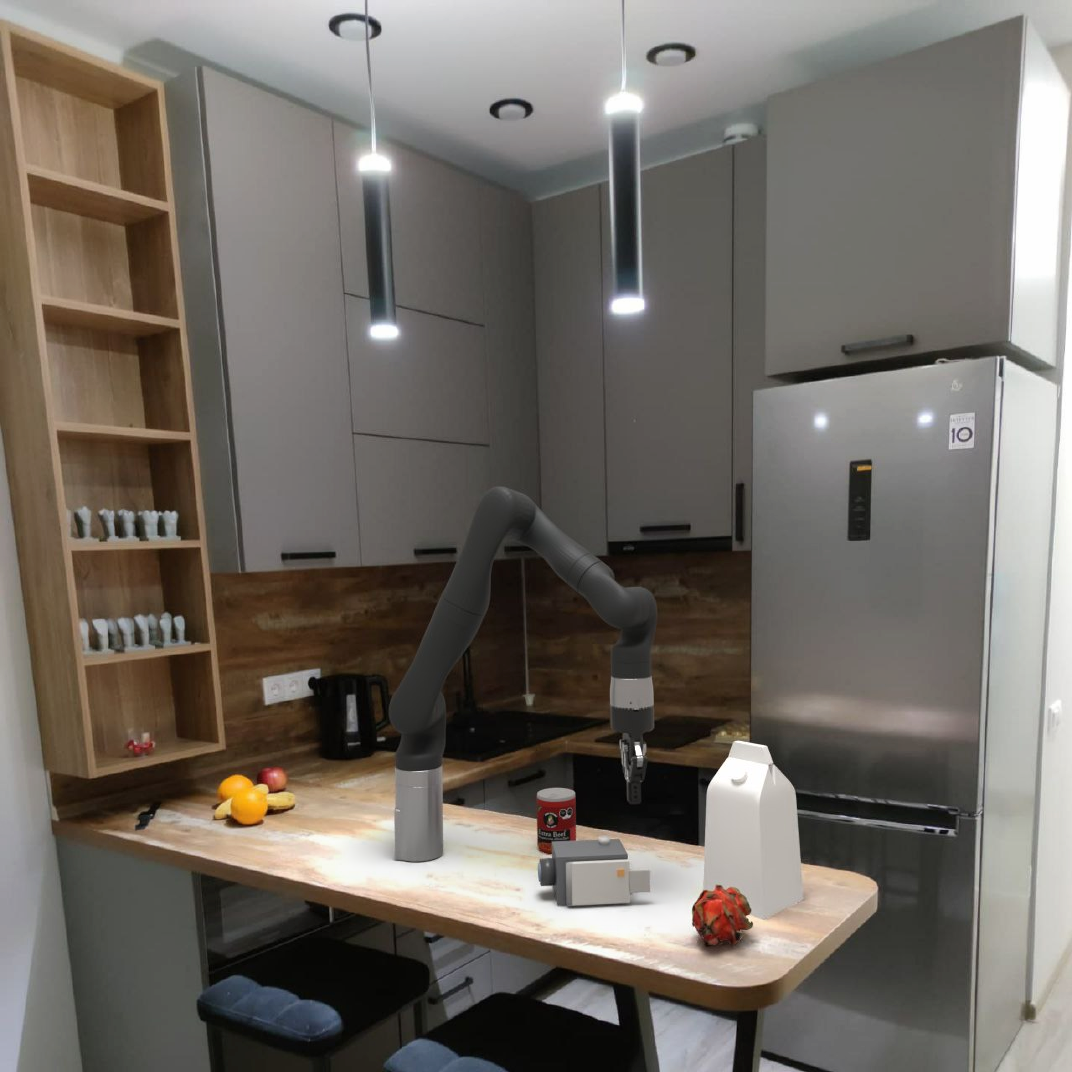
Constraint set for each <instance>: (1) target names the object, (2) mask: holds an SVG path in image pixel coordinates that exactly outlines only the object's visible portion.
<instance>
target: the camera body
mask: <svg viewBox="0 0 1072 1072" xmlns="http://www.w3.org/2000/svg"><path fill="white" fill-rule="evenodd" d="M624 859H629V854H628V852H627V850H626V848H625V847H624V845H623V843H622V842H621V839H620V838H611V837H610V836H609V835H599V836H598V839H581V840H580V839H579V840H577V839H576V841H554V842H552V855H551V857H546V858H542V857H541V858H539V860H538V863H537V877H538V878H537V879H538V883H539V884H540V887H551V888H552V891H553V895H554V899H555V902H557V903H556V906H557V905H558V907H560V906H559V905H565V906H567V905H566V862H579V861H602V860H624Z"/></svg>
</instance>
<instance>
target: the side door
mask: <svg viewBox="0 0 1072 1072" xmlns="http://www.w3.org/2000/svg"><path fill="white" fill-rule="evenodd" d="M630 865H631V863H630V859H629V858H628V859H624V860H602V861H579V862H566V905H565V906H567V907H572V906H573V907H574V906H591V905H593V906H594V905H611V904H630V903H631V894H638V893H650V892H651V870H650V868H649V867H643V868H642V867H641V868H640V867H639V868H631V867H630Z"/></svg>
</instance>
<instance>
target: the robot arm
mask: <svg viewBox="0 0 1072 1072" xmlns="http://www.w3.org/2000/svg"><path fill="white" fill-rule="evenodd" d="M505 539H509V540H515V541H517V542H518V543H521V544H522V545H524V546H527V547H528V548H530V549H532V551H534V552H536V553H537V554H538V555H539V556H540V557H542V558H543V559H544V560H545V561H546V563H547V564H548V566H550V567H551V569H552V570H553V572H554V573H555V574H556V575H557V576H558V577H559V578H560V579H561V580H562V581H563V582H565V583H566V584H567V585H568V586H569V587H571V588H572V589H573V590H574V591H576V592H577V593H578V594H580V595H581V596H582V597H584V598H585V600H586V601H587V602H588V604H589V605H590V606H591V607H592V609H593V610H594V611H595V613H596V614H597V615H598V617H600V618H601V619H602V621H604V622H605V623H606V624H608V625H609V626H611V627H614V628H616V629H620V630H621V631H620V637H619V640H617V642H616V643H614V644H613V645H612V647H611V650H610V686H609V706H610V709H609V712H610V729H611V730H612V731H613V732H616V733H621V734H622V739H619V744H618V746H619V751H620V758H621V765H622V772H623V774H624V778H625V781H626V801H627V802H628V803H629V804H630V805H641V803H642V785H641V784H642V782H644V781H645V777H646V771H647V766H648V761H649V759H648V755H645V754H646V753H647V742H646V741H644V737H643V734H644V733H645V734H646V733H649V732H651V731H653V730H654V729H655V705H654V703H655V700H654V697H655V696H654V684H653V679H652V678H653V677H652V652H651V651H652V647H653V644H654V639H655V633H656V627H657V622H658V607H657V606H658V605H657V601H656V599H655V597H654V595H653V594H652V592H651V591H650V590H648V589H647V588H646V587H642V586H631V587H624V586H623V585H621V584H619V583H618V582H617V581H616V580H615V573H614V571H613V569H611V568H610V566H609V565H607V564H606V563H605V562H603V561H602V560H601V559H600V558H598V557H597V556H595V554H593V553H591V552H590V551H589V550H587V549H586V548H585V547H583V546H582V545H581V544H579V543H578V542H576V541H575V540H574V539H572V538H571V537H570V536H569V535H567V534H566V533H564V532H563V531H562V530H561V529H560V528H559V527H557V525H555V523H554V522H552V520H550V518H548V517H547V515H546V514H545V513H544V511H542V509H540V508H539V507H538V505H537V504H536V503H535V502H534V501H533V500H532V499H531V498H530V496H528V495H527V494H525V493H522V492H520V491H517V490H514V489H511V488H508V487H506V486H499V485H497V486H494V487H492V488H490V489H488V490H487V491H486V492H485V493H484V494H483V496H482V497H481V498H480V501H479V502H478V504H477V507H476V509H475V512H474V514H473V517H472V520H471V523H470V527H469V530H468V532H467V535H466V537H465V541H464V544H463V545H462V546H463V547H462V549H461V552H460V554H459V556H458V559H457V561H456V563H455V566H454V568H453V570H452V572H451V575H450V577H449V579H448V582H447V584H446V586H445V587H444V590H443V591H442V593H441V596H440V597H439V600H438V601H437V604H436V606H435V609H434V611H433V614H432V617H431V619H430V621H429V624H428V625H427V628H426V630H425V632H424V635H423V637H422V640H421V642H420V644H419V646H418V649H417V652H416V653H415V657H414V658H413V661H412V663H411V664H410V666H409V668H408V670H407V671H406V673H405V675H404V677H403V678H402V680H401V682H400V684H399V685H398V687H397V689H396V690H395V692H394V693H393V695H392V696H391V699H390V701H389V702H390V703H389V705H388V718H389V722H390V724H391V725H392V727H393V728H394V730H395V731H397V732H398V733H399V734H401V738H400V742H399V745H398V747H397V749H396V751H395V754H394V792H395V795H394V796H395V797H394V798H395V799H394V800H395V802H394V803H395V805H394V806H395V807H394V811H393V814H394V819H393V820H394V860H400V861H405V862H415V863H416V862H427V861H431V860H435V859H439V858H440V857H441V856H442V855H443V854H444V808H443V807H444V798H443V797H444V796H443V793H444V792H443V787H444V786H443V756H444V752H445V748H446V733H447V732H446V730H447V707H446V700H445V696H444V695H443V692H442V688H443V686H444V684H445V682H446V680H447V678H448V676H449V674H450V672H451V670H452V669H453V668H454V666H455V665H456V664H457V662H458V661H459V659H461V657H462V656H463V655H464V653H465V651H467V649H468V647H469V646H470V645H471V643H472V642H473V640H474V638H475V636H476V635H477V634H478V631H479V629H480V626H481V624H482V623H483V621H484V620H483V619H484V618H485V615H486V614H487V611H488V609H489V607H490V606H489V605H490V600H491V589H492V588H491V586H492V585H491V584H492V583H491V581H492V580H491V576H492V575H491V574H492V568H493V565H494V564H493V563H494V561H495V558H496V556H497V553H498V551H499V550H500V547H501V545H502V543H503V541H504V540H505Z"/></svg>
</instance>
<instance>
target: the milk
mask: <svg viewBox="0 0 1072 1072" xmlns="http://www.w3.org/2000/svg"><path fill="white" fill-rule="evenodd" d="M730 747H731V748H730V750H729V754H728V757H727V758H726V759H725V761H724V762H723V763H722V765H721V766H720V768H719V769H718V771H717V772H716V774H715V775H714V776H713V777H712V779H711V781H710V783H709V784H708V787H707V790H706V804H705V805H706V806H705V831H704V832H705V833H704V855H703V857H704V858H703V862H704V863H703V880H702V881H703V883H702V884H703V886H702V892H703V891H704V890H708V891H714V890H715V887H716V885H722V887H723V888H724V889H725V890H727V889H728V888H730V887H735V888H737V889H739V891H740V893H741V894H743V895H744V896H745V897H746V898H747V901H748V903H749V906H750V908H751V909H752V910H751V913H750V914H749V915H748V916H752V917H754V918H757V919H760V920H766V919H768V918H770V917H772V916H774V915H776V914H778V913H780V912H782V911H784V910H786V909H785V908H787V909H788V907H789V908H791V907H792V905H793V904H795V903H796V902H799V901H801V900H803V899H804V889H803V875H802V861H801V848H800V847H801V846H800V834H799V821H798V820H799V819H798V808H797V795H796V789H795V787H794V786H793V784H792V783H791V781H790V780H789V778H787V777H786V776H785V774H783V772H782V771H781V770H780V769H779V768H778V767H777V766H776V765H775V764H774V761H773V758H772V755H771V753H770V751H769V748H768V746H767V745H764V744H758V743H753V742H749V741H743V740H742V741H741V740H735V741H733V742H732V745H731V746H730ZM803 901H804V900H803ZM801 902H802V901H801ZM799 903H800V902H799ZM795 905H796V904H795ZM790 906H791V907H790ZM793 906H794V905H793ZM783 909H784V910H783ZM775 913H776V914H775Z"/></svg>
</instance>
